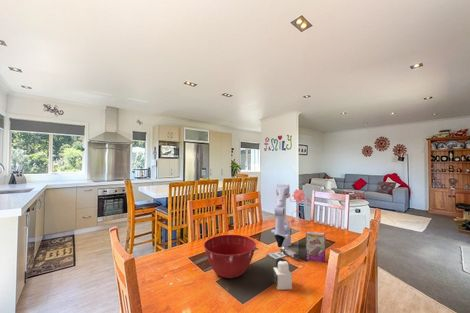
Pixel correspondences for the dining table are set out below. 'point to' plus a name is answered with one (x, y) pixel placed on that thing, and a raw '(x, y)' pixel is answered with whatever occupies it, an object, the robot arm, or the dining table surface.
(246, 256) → the mixing bowl
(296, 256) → the door handle
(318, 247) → the candy bar box
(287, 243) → the robot arm
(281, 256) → the label
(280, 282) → the medicine bottle
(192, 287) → the dining table surface
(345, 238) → the dining table surface
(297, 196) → the figurine
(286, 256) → the plate
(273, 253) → the label
